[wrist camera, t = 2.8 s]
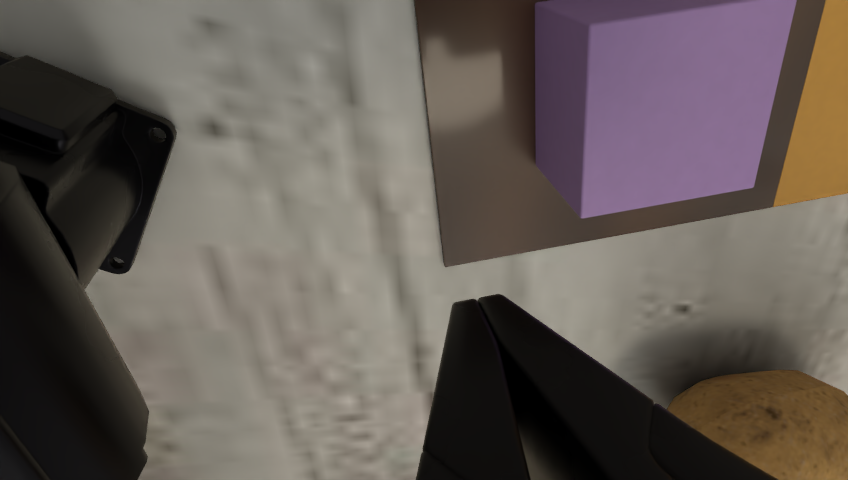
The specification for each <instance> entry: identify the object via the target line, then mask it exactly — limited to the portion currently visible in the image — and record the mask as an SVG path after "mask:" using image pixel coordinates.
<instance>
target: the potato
mask: <svg viewBox="0 0 848 480" xmlns="http://www.w3.org/2000/svg"><path fill="white" fill-rule="evenodd" d="M667 410H668V411H669V412H671V413H672V414H674V415H675V416H677V417H678V418H679V419H681V420H682V421H684V422H685V423H687V424H689V425H690V426H692V427H693V428H695V429H696V430H698V431H699V432H701V433H702V434H704V435H705V436H707V437H708V438H710V439H711V440H713V441H714V442H716V443H718V444H719V445H721V446H723V447H724V448H726V449H728V450H729V451H731V452H733V453H734V454H736V455H738V456H739V457H741V458H743V459H744V460H746V461H748V462H749V463H751V464H753V465H754V466H756V467H758V468H760V469H761V470H763V471H765V472H766V473H768V474H770V475H772V476H773V477H775V478H777V479H779V480H848V396H847V394H846V393H845V392H844V391H841V390H839V389H837V388H835V387H833V386H831V385H829V384H826V383H824V382H822V381H820V380H818V379H816V378H813V377H811V376H809V375H807V374H805V373H803V372H800V371H798V370H772V371H761V372H750V373H739V374H729V375H723V376H718V377H713V378H710V379H707V380H704V381H700V382H698V383H697V384H695V385H694V386H692V387H690V388H689V389H687V390H685V391H684V392H682V393H681V394H679V395H677V396H676V397H674V399H673V400H672V402H671V403H670V405H669V407H668V408H667Z"/></svg>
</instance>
